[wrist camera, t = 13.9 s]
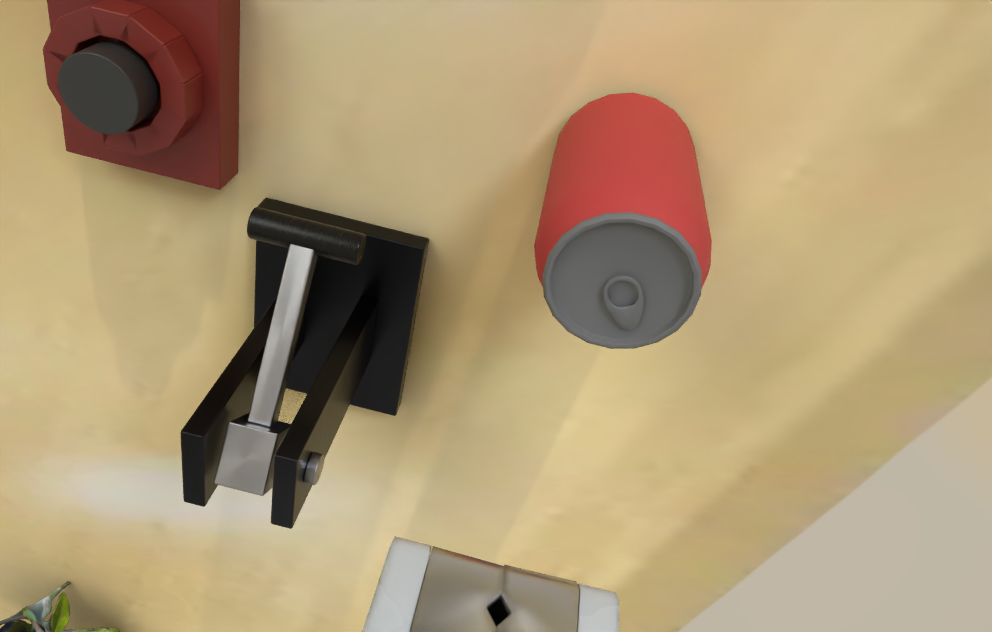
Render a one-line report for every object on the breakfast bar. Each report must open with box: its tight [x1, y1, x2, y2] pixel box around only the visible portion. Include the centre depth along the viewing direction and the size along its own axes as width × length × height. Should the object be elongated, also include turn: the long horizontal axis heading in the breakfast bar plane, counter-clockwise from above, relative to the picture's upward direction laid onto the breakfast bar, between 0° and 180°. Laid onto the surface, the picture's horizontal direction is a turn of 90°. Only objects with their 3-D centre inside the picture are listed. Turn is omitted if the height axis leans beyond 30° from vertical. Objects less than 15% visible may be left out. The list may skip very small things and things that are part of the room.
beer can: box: [534, 93, 712, 349], centre depth 32 cm, size 7×7×12 cm
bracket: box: [181, 198, 429, 529], centre depth 39 cm, size 12×9×14 cm
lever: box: [214, 207, 366, 496], centre depth 34 cm, size 12×5×2 cm
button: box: [58, 42, 158, 134], centre depth 34 cm, size 4×4×2 cm
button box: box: [43, 0, 240, 190], centre depth 36 cm, size 10×8×4 cm
